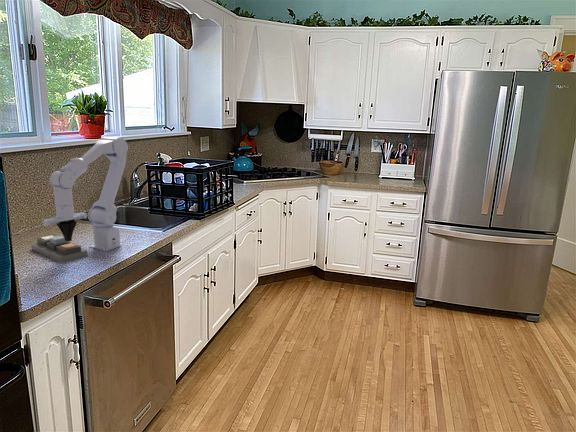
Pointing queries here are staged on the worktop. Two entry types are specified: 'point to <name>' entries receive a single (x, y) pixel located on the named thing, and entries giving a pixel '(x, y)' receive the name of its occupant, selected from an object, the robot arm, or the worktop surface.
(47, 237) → the off-white key
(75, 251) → the key panel
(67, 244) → the terracotta key
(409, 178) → the worktop surface
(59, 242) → the slate blue key
